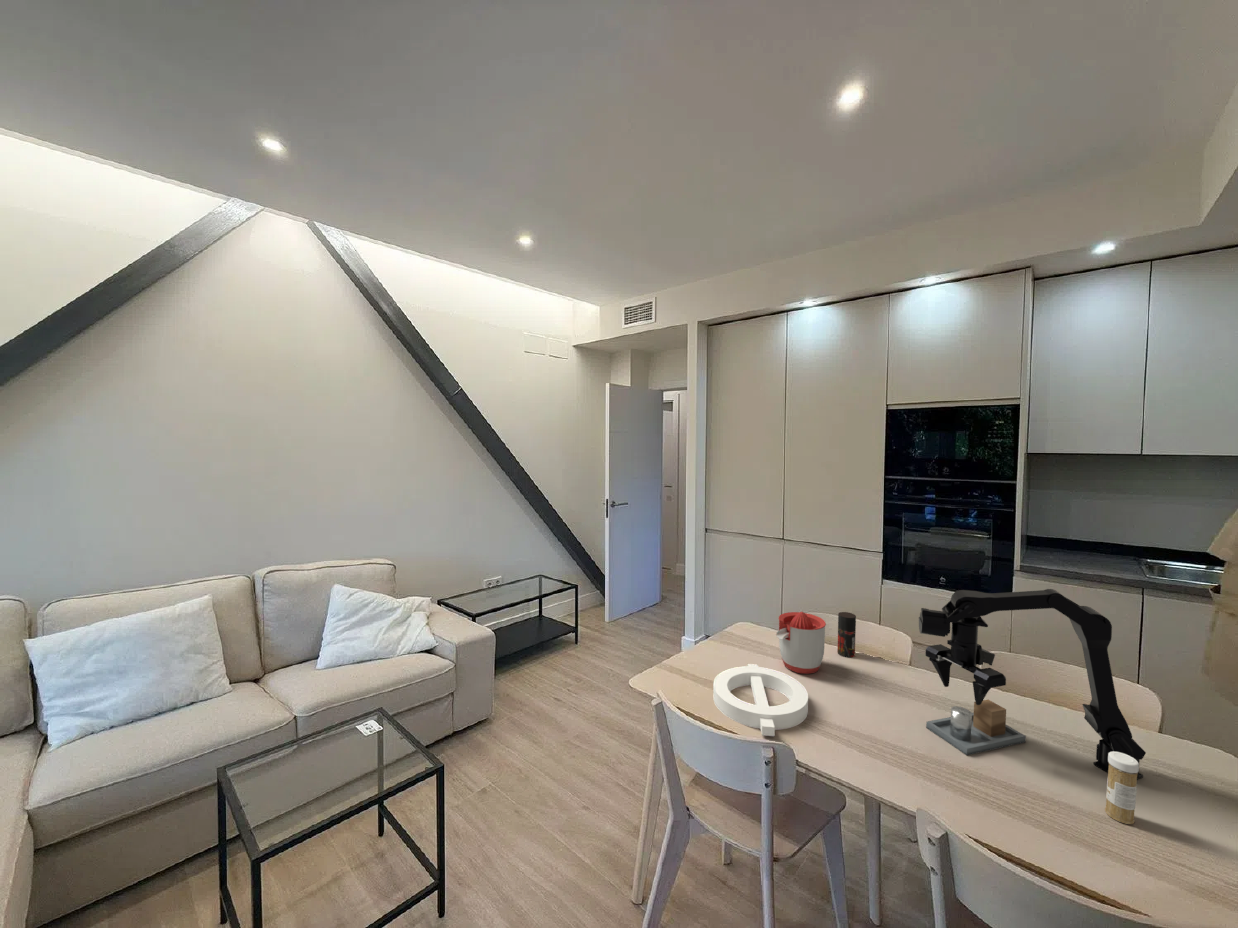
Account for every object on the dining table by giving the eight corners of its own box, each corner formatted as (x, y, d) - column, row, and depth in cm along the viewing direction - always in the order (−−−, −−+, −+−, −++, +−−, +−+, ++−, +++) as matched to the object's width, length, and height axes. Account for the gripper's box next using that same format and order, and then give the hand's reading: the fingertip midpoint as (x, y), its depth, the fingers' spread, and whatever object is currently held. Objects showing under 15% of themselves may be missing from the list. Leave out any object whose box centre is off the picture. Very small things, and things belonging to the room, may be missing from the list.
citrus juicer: (764, 660, 176) (765, 607, 174) (804, 653, 181) (805, 601, 179) (792, 681, 161) (793, 623, 159) (835, 673, 166) (836, 616, 165)
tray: (1025, 742, 129) (1025, 735, 128) (966, 755, 124) (966, 748, 124) (981, 716, 140) (981, 710, 140) (926, 727, 135) (926, 721, 135)
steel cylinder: (975, 739, 129) (976, 714, 128) (961, 742, 128) (962, 717, 127) (959, 729, 133) (960, 705, 133) (946, 732, 132) (946, 707, 132)
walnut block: (1005, 733, 131) (1006, 709, 131) (990, 736, 130) (992, 711, 130) (987, 723, 136) (988, 699, 136) (973, 725, 135) (974, 701, 134)
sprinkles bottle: (1104, 805, 107) (1107, 747, 106) (1134, 816, 104) (1138, 756, 103) (1105, 817, 104) (1108, 757, 103) (1136, 829, 100) (1140, 767, 100)
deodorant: (839, 648, 184) (840, 610, 183) (856, 653, 181) (857, 614, 180) (835, 654, 180) (836, 615, 179) (852, 659, 176) (853, 619, 175)
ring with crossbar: (769, 743, 129) (769, 726, 129) (694, 698, 152) (694, 683, 152) (826, 708, 146) (827, 692, 146) (751, 671, 168) (751, 658, 168)
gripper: (1024, 650, 122) (1021, 709, 123) (955, 622, 140) (953, 674, 141) (989, 656, 119) (987, 716, 120) (924, 626, 137) (922, 679, 138)
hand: (961, 695), depth 130 cm, fingers open, 9 cm apart
